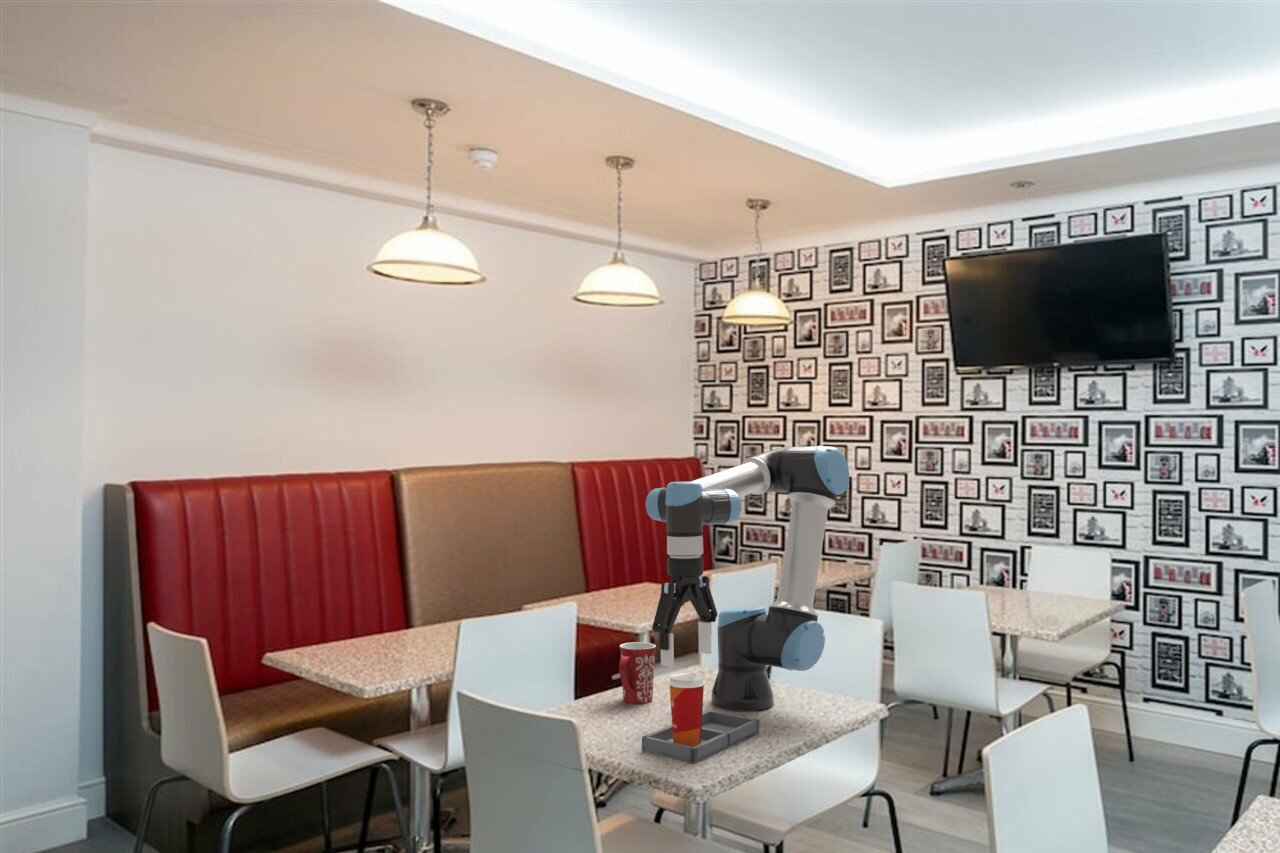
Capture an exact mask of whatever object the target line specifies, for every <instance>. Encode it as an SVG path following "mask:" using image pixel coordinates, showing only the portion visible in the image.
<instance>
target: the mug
mask: <svg viewBox="0 0 1280 853" xmlns="http://www.w3.org/2000/svg"><path fill="white" fill-rule="evenodd" d="M656 648H657V645H656V644H654V643H651V642H644V641H643V642H641V641H640V642H639V641H636V642H625V643H621V644H620V645H619V649H620V660H619V664H618V672H619V678H620V681H621V685H622V698H623V701H624V702H625V703H628V702H629V703H628V704H635V703H641V704H647V702H648V703H650V702H653V696H654V694H653V692H654V675H655V674H654V673H655V661H656V659H655V658H656V657H655V656H656Z"/></svg>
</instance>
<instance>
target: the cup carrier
mask: <svg viewBox="0 0 1280 853" xmlns="http://www.w3.org/2000/svg"><path fill="white" fill-rule="evenodd" d="M758 734H760V719H757V718H751V717H747V716H741V715H737V714H733V713H732V714H731V713H728V712H721V711H716V710H711V709H708V710H705V711H702V731H701V744H698V745H696V746H694V747H691V746H687V745H683V744H678V743H674V742H673V731H672V724H671V725H668V726H665V727H663V728H660V729H657V730H655V731H652V732H650V733H647V734H645V735H643V736H641V751H642V752H645V753H649V754H654V755H658V756H662V757H665V756H666V757H665V758H669V757H670V758H669V759H673V758H674V759H675V760H677V759H678V761H681V760H683V761H682V762H685V761H686V763H689V762H690V763H689V764H694V765H695V764H697V763H699V762H701V761H703V760H706V759H707V757H708V758H709V756H710V757H712V756H714V755H716V754H718V753H720V752H722V751H724V750H726V749H729V748H731V747H733V746H735V745H737V744H740V743H741V742H744V741H745V740H747V739H750V738H753V737H754V736H756V735H758ZM734 744H735V745H734ZM732 745H733V746H732ZM730 746H731V747H730ZM728 747H729V748H728ZM721 750H722V751H721ZM719 751H720V752H719ZM717 752H718V753H717ZM715 753H716V754H715ZM713 754H714V755H713ZM711 755H712V756H711ZM700 760H701V761H700ZM698 761H699V762H698ZM696 762H697V763H696Z"/></svg>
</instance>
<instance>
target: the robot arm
mask: <svg viewBox="0 0 1280 853" xmlns="http://www.w3.org/2000/svg"><path fill="white" fill-rule="evenodd" d="M849 484H850V469H849V465H848V462H847V460H846V457H845V456H844V454H843V452H841V450H840V449H838V448H836V447H835V446H823V445H817V446H814V445H813V446H783V447H778V448H775V449H772V450H771V449H770V450H768V451H765V452H762V453H758V454H756V455H754V456H750V457H747V458H745V459H743V461H742V462H741V463H740V465H737V466H733V467H730V468H728V469H727V468H726V469H724V470H721V471H718V472H715V473H712V474H709V475H706V476H703V477H700V478H697V479H695V480H694V479H693V480H692V481H671V482H669V483H668V484H667V485H666V487H659V488H653V489H652V490H651V491H649V493H648V494H647V496H646V500H645V509H646V513H647V515H648V516H649V518H650V519H652V520H654V521H659V522H662V523H666V542H667V543H666V554H667V555H668V557H667V559H666V571H667V572H666V573H667V575H668V576H670V577H671V581H670V582H662V583H661V586H660V589H661V590H660V597H659V600H658V605H657V608H656V610H655V616H654V620H653V623H652V626H651V630H652V631H653V632H655V633H658V634H659V649H660V666H665V667H670V668H672V667H675V655H674V654H675V653H674V650H675V649H674V640H675V639H674V633H672V630H673V627H674V624H675V622H676V620H677V618H678V615H679V614H680V610H681V608H682V607H683V606H684V605H685V604H686V603H688V602H690V603H691V605H692V607H693V608H694V610H695V612H696V614H697V615H698V617H699V619H700V620H701V621H698V622H697V623H698V624H697V626H698V631H697V632H698V633H697V634H698V636H697V637H698V653H701V654H707V655H711V654H712V623H715V622H716V621H718V622H717V652H718V654H717V655H718V658H717V659H718V660H717V662H718V664H717V665H718V671H717V674H716V677H715V681H714V685H713V687H712V691H711V704H712V705H713V706H715V707H718V708H720V709H722V710H723V709H724V710H728V711H729V710H731V711H740V712H751V711H753V712H754V711H760V710H761V711H762V710H767V709H769V708H771V707H773V706H774V702H775V701H774V698H775V697H774V693H773V689H772V686H771V683H770V682H771V681H769V677H768V674H767V666H770V667H775V668H781V669H785V670H788V671H798V672H805V671H808V670H811V669H812V668H813V667H814V666H815V665H816V664H817V663H818V661H820V658H821V657H822V655H823V652H824V649H825V642H826V635H825V634H824V633H825V630H824V628H823V625H822V624H821V623H819V622H818V619H819V615H818V613H817V612H816V610H815V608H814V601H815V597H816V596H815V595H816V589H817V582H818V576H819V571H820V563H821V556H822V550H823V545H824V543H823V542H824V538H825V532H826V525H827V518H828V511H829V510H830V509H831V508H832V507H834V506H835V505H836V501H837V495H842V494H844V493H845V492H846V490H847V489H848V487H849ZM766 493H787V497H788V499H789V500H790V501H791V503H792V506H791V512H790V517H789V518H790V519H789V525H788V531H787V536H786V542H785V548H784V555H783V561H782V568H781V572H780V579H779V585H778V589H777V590H778V591H777V597H776V600H775V601H774V602H773V603H771V604H769V606H768V610H767V611H768V612H767V611H766V608H765V607H764V606H743V607H735V608H733V607H732V608H726V609H724V610H722V611H721V612H719V614H718V611H717V608H716V605H715V602H714V598H713V594H712V591H711V589H710V583H709V576H707V575H703V574H704V558H703V557H702V556H701V555H703V554H704V537H703V536H704V535H703V534H704V533H703V532H704V530H703V528H704V526H707V525H710V526H711V525H721V524H722V525H726V524H728V523H733V522H735V521H736V520H737V519H738V518H739V517H740V515H741V511H742V501H741V498H743V497H746V496H749V495H751V494H752V495H757V496H758V495H762V494H766ZM717 617H718V620H717Z"/></svg>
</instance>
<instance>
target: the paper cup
mask: <svg viewBox="0 0 1280 853" xmlns="http://www.w3.org/2000/svg"><path fill="white" fill-rule="evenodd" d="M667 684H668V686H669V697H670V712H671V713H670V714H671V716H670V717H671V725H672V731H673V742H674V743H678V744H683V745H687V746H691V747H694V746H696V745H698V744H701V731H702V713H703V712H704V711H703V710H704V709H703V706H704V686H705V685H706V681H705V680H704V677H703V675H701V674H697V673H689V672H682V673H675V674H672V675H670V676H669V681H668V682H667Z"/></svg>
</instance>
